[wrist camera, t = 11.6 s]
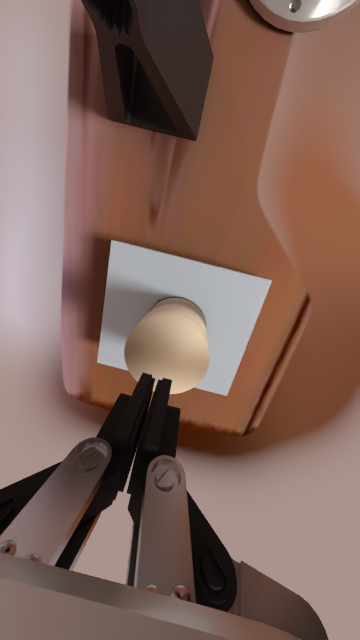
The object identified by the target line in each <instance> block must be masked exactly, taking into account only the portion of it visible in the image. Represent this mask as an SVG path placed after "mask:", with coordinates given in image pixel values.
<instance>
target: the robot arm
mask: <svg viewBox="0 0 360 640" xmlns="http://www.w3.org/2000/svg"><path fill="white" fill-rule="evenodd" d="M249 1H250V2H251V4H252V6H253V8H254V9H255V10H256V11H257V12H258V13H259V14H260V15H261V17H262V18H263V19H264V20H266V21H267V22H269V23H270V24H272V25H273V26H275V27H276V28H279V29H282V30H285V31H289V32H308V31H313V30H318V29H321V28H323V27H325V26H328V25H330V24H332V23H334V22H336V21H337V20H339V19H340V18H341V17H343V16H344V15H346V14H347V13H349V12H350V11H351V10H352V9H353V8H354V7H355V6H356V5H358V3H359V2H360V0H249ZM154 383H155V378H152V375H151V374H147V373H142V375H141V377H140V379H139V381H138V383H137V385H136V387H135V390H134V392H133V394H132V396H130V395H126V394H122V393H121V394H120V395H119V397H118V399H117V401H116V402H115V404H114V406H113V408H112V409H111V411H110V413H109V415H108V417H107V418H106V420H105V422H104V424H103V426H102V427H101V429H100V431H99V433H98V434H97V436H96V438H88V439H85V440H83V441H82V442H80V443H79V444H78V445H76V446H75V447H74V448H73V450H72V451H71V452H70V453H69V454H68V456H67V457H66V458H65V459H64V460H63V461H62V462H60V463H57V464H55V465H53V466H51V467H49V468H46V469H44V470H42V471H40V472H38V473H35V474H33V475H31V476H29V477H27V478H24V479H22V480H20V481H18V482H16V483H13V484H11V485H9V486H7V487H5V488H3V489H0V640H328V637H327V633H326V630H325V628H324V626H323V624H322V622H321V620H320V618H319V617H318V615H317V613H316V612H315V611H314V609H313V608H312V607H311V605H310V604H309V603H308V602H307V601H305V600H304V599H303V598H302V597H301V596H299V595H297V594H296V593H294V592H293V591H291V590H289V589H288V588H286V587H284V586H282V585H281V584H279V583H278V582H276V581H274V580H273V579H271V578H269V577H268V576H266V575H264V574H263V573H261V572H259V571H258V570H256V569H255V568H253V567H251V566H249V565H248V564H246V563H245V562H243V561H241V562H240V563H238V562H236V561H235V560H233V559H232V558H231V557H230V555H229V553H228V551H227V550H226V548H225V547H224V545H223V544H222V542H221V541H220V539H219V538H218V536H217V535H216V533H215V532H214V530H213V529H212V527H211V526H210V524H209V523H208V521H207V520H206V518H205V517H204V515H203V514H202V512H201V511H200V509H199V508H198V506H197V505H196V503H195V502H194V500H193V499H192V497H191V496H190V494H189V493H188V491H187V489H186V477H185V472H184V469H183V467H182V465H181V464H180V463H179V462H178V461H177V460H176V459H175V456H176V446H177V437H178V428H179V418H180V408H176V407H172V406H169V405H167V404H168V399H169V394H170V389H171V384H172V380H170V379H167V378H163V379H162V380H159V379H158V382H157V385H156V388H155V391H154V395H153V398H152V401H151V404H150V399H151V395H152V391H153V387H154ZM149 404H150V407H149ZM148 408H149V410H148ZM147 412H148V414H147ZM146 416H147V417H146ZM137 446H138V447H137ZM136 449H137V451H136ZM135 452H136V455H135ZM134 455H135V460H134V464H133V468H132V473H131V477H130V482H129V486H128V490H127V493H128V494H131V497H130V501H129V505H128V511H129V513H130V515H131V517H132V519H133V526H132V535H131V543H130V552H129V559H128V567H127V575H126V583H125V585H124V584H120V583H116V582H112V581H109V580H105V579H101V578H97V577H93V576H89V575H86V574H82V573H78V572H74V571H72V570H73V568H74V566H75V564H76V562H77V560H78V558H79V557H80V554H81V553H82V550H83V549H84V547H85V545H86V543H87V541H88V539H89V537H90V535H91V533H92V531H93V529H94V527H95V525H96V523H97V521H98V519H99V517H100V514H101V512H102V511H103V510H104V509H106V508H107V507H109V506H110V505H112V502H113V500H115V499H116V496H117V493H118V491H121V492H123V490H124V487H125V484H126V481H127V478H128V474H129V471H130V468H131V465H132V462H133V458H134Z"/></svg>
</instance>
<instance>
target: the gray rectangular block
mask: <svg viewBox="0 0 360 640" xmlns="http://www.w3.org/2000/svg"><path fill="white" fill-rule="evenodd" d="M271 282H272V281H271V280H268V279H265V278H262V277H259V276H256V275H252V274H248V273H244V272H240V271H236V270H232V269H228V268H224V267H220V266H216V265H213V264H209V263H205V262H201V261H197V260H193V259H189V258H185V257H181V256H177V255H173V254H169V253H165V252H161V251H158V250H154V249H150V248H146V247H142V246H138V245H134V244H130V243H126V242H120V241H115V240H111V248H110V257H109V265H108V274H107V283H106V291H105V300H104V309H103V317H102V326H101V335H100V343H99V352H98V361H97V363H101V364H105V365H109V366H113V367H117V368H120V369H124V370H128V368H127V366H126V363H125V358H124V348H125V344H126V341H127V338H128V336H129V335H130V333H131V332H132V331H133V329H134V328H135V327H136V326H137V325H138V324H139V323H140V321H141V320H142V319H143V318H144V317H145V316H146V314H147V313H148V312H149V311H150V309H151V308H152V307H153V306H154V305H155V304H156V303H157V302H158V301H160V300H162V299H164V298H167V297H173V296H177V297H184V298H187V299H189V300H191V301H192V302H194V303H195V304H196V305H198V307H199V308H200V309H201V310H202V312H203V314H204V316H205V319H206V330H207V338H208V346H209V355H210V361H209V367H208V370H207V372H206V374H205V376H204V378H203V379H202V380H201V381H200V382H199V383H198V384H197V385H196V386H195V387H194V388H198V389H202V390H206V391H210V392H214V393H218V394H221V395H225V396H227V394H228V392H229V389H230V387H231V384H232V382H233V379H234V376H235V374H236V371H237V369H238V366H239V364H240V361H241V359H242V356H243V353H244V351H245V348H246V346H247V343H248V341H249V338H250V336H251V333H252V330H253V328H254V325H255V323H256V320H257V318H258V315H259V313H260V310H261V307H262V305H263V302H264V300H265V297H266V295H267V292H268V290H269V287H270V284H271ZM128 371H129V370H128Z"/></svg>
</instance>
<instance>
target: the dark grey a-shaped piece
mask: <svg viewBox="0 0 360 640" xmlns="http://www.w3.org/2000/svg"><path fill="white" fill-rule="evenodd" d="M81 1H82V3H83V5H84V6H85V8H86V10H87V12H88V14H89V16H90V18H91V20H92V22H93V25H94V27H95V30H96V34H97V40H98V47H99V54H100V61H101V68H102V76H103V83H104V90H105V97H106V104H107V112H108V118H109V119H110V120H112V121H115V122H119V123H123V124H127V125H131V126H136V127H140V128H144V129H148V130H154V131H156V132H160V133H164V134H168V135H173V136H177V137H181V138H185V139H189V140H193V141H195V140H196V139H197V135H198V130H199V125H200V120H201V115H202V111H203V106H204V101H205V96H206V91H207V87H208V82H209V77H210V72H211V68H212V63H213V54H212V50H211V46H210V42H209V38H208V34H207V31H206V27H205V23H204V19H203V15H202V12H201V8H200V4H199V0H81Z"/></svg>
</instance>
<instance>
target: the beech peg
mask: <svg viewBox="0 0 360 640" xmlns="http://www.w3.org/2000/svg"><path fill="white" fill-rule="evenodd" d="M124 358H125V363H126V366H127V368H128V370H129V372H130V373H131V375H132V376H133V377H134V379H135V380H136V381H137V382H138V381H139V379H140V377H141V375H142V373H147V374H151V375H152V378H155V383H154V387H153V391H155V388H156V385H157V382H158V379H159V380H162V379H163V378H167V379H170V380H172V384H171V389H170V394H177V393H181V392H185V391H187V390H189V389H191V388H193V387H195V386H196V385H197V384H198V383H199V382H200V381H201V380H202V379H203V378H204V376H205V374H206V372H207V370H208V367H209V361H210V355H209V346H208V338H207V330H206V319H205V316H204V314H203V312H202V310H201V309H200V308H199V307H198V305H196V304H195V303H194V302H192V301H191V300H189V299H187V298H184V297H177V296H173V297H167V298H164V299H162V300H160V301H158V302H157V303H156V304H155V305H154V306H153V307H152V308H151V309H150V311H149V312H148V313H147V314H146V316H145V317H144V318H143V319H142V320H141V321H140V323H139V324H138V325H137V326H136V327H135V328H134V329H133V331H132V332H131V333H130V335H129V336H128V338H127V341H126V344H125V348H124Z"/></svg>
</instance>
